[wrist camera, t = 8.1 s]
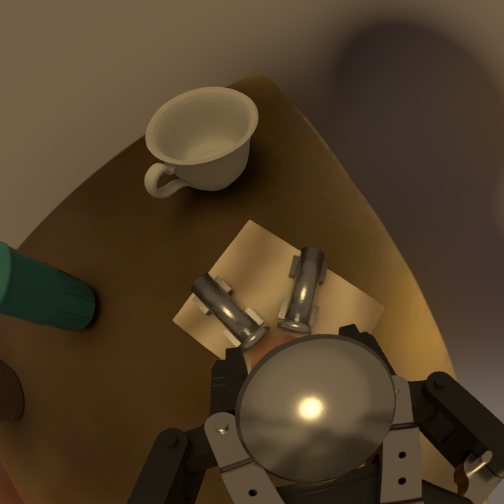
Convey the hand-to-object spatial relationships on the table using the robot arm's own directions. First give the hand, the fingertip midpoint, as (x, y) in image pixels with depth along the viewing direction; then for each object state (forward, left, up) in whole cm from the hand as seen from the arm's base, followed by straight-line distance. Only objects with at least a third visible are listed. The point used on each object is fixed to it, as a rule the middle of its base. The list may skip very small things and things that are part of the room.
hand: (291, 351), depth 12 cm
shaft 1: (-6, 0, -15) cm, 16 cm away
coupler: (+1, -1, -4) cm, 5 cm away
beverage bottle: (-22, -11, -16) cm, 29 cm away
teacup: (-19, +12, -16) cm, 27 cm away
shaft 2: (-1, +6, -15) cm, 16 cm away
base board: (-2, +3, -16) cm, 16 cm away
